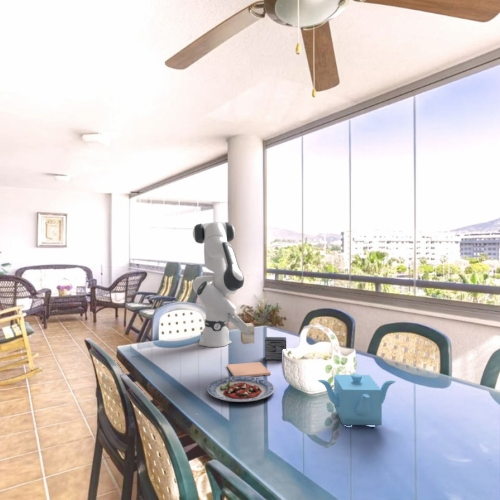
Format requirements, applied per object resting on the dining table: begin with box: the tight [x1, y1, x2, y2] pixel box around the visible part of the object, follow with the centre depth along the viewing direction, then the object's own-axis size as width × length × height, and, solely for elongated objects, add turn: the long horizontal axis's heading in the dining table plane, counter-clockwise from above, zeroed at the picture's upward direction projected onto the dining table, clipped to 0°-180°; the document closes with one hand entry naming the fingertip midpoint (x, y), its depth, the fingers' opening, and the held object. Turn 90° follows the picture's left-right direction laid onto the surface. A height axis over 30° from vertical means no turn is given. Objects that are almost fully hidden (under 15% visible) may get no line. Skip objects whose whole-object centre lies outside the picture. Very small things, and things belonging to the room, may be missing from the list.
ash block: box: [240, 322, 255, 345], centre depth 175 cm, size 5×5×8 cm
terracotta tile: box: [226, 361, 271, 377], centre depth 176 cm, size 16×16×1 cm
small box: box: [264, 336, 287, 362], centre depth 194 cm, size 11×6×10 cm, turn 84°
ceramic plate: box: [207, 376, 276, 403], centre depth 150 cm, size 26×26×3 cm
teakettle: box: [317, 373, 397, 426], centre depth 126 cm, size 19×19×15 cm
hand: (247, 332), depth 175 cm, fingers closed on ash block, 5 cm apart
